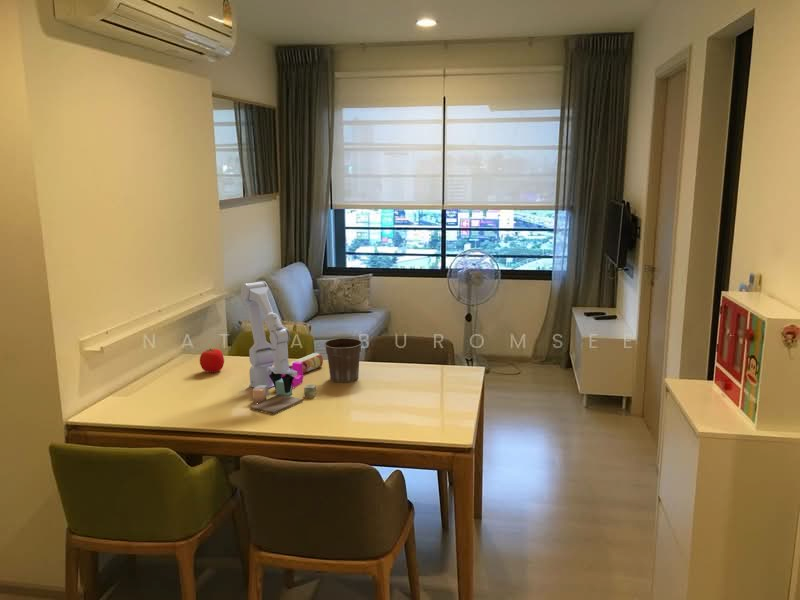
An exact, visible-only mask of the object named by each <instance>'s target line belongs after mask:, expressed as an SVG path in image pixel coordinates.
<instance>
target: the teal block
mask: <svg viewBox="0 0 800 600" xmlns="http://www.w3.org/2000/svg"><path fill="white" fill-rule="evenodd" d="M275 383H276V389H275V394H276V395H275V396H277V395H279V394H281V395H286V396H291V395H293V388H292V384H291V389H290V392H288V393H285V388H284V382H283V380H282V379H280V380H277V381H275Z"/></svg>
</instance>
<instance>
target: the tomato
mask: <svg viewBox="0 0 800 600" xmlns="http://www.w3.org/2000/svg"><path fill="white" fill-rule="evenodd" d="M224 364H225V358H224V354H223V352H222V351H221V350H220V349H218V348H209V349H206V350H204V351H203V352H202V353H201V354H200V356H199V366H200V367H201V368H202V370H203V371H205V372H206V373H211V372H212V373H217V371H218V372H220V371H221V370H222V369H223V368H224Z"/></svg>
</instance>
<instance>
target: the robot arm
mask: <svg viewBox="0 0 800 600" xmlns="http://www.w3.org/2000/svg"><path fill="white" fill-rule="evenodd" d="M269 290H270V289H269V286H268V283H267V282H266V281H265V280H262V281H256V282H249V283H243V284H242V285H241V288H240V294H241V299H242V303H243V305H246V309H247V314H248V318H249V323H250V328H251V334H252V338H253V344H252V346H251V347H250V348H249V349H248V351H249V362H250V365H251V366H250V368H249V385H248V386H249V387H250V388H255V387H257V386H258V385H266V386H268V389H270V388H272V387H274V388H275V390H276V383H275V381H277V380H280V379H281V376H282V374H284V375H285V376H283V377H282V380H283V382H284V388H285V393H288V392H290V389H291V384H292V381H293V379H294V377H296V376H297V371H294V370H292V369H290V368H289V363H290V362H289V351H288V350H289V349H288V347H289V346H288V343H289V342H290V338H291V335H290V332H289V329H288V328H287V327H286V326H285V325H283V324H282V321H281V320H280V317H279V315H278V313H275V312H274V311H273V308H272V305H271V303H270V300H269V297H268V296H269V292H270V291H269ZM261 311H262V312H261ZM261 313H263V315H264V319H262V314H261ZM263 321H264V323H265V326H266V327H267V330H268V332H269V337H268V338H269V341H270V342H268V341H267V338H266V332H265V329H264V323H263Z"/></svg>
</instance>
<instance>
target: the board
mask: <svg viewBox="0 0 800 600" xmlns="http://www.w3.org/2000/svg"><path fill="white" fill-rule="evenodd" d="M303 401H304V400H303V398H299V397H296V396H295V397H294V396H291V395H289V396H286V395H281V394H279V395H277V396H276V395H275V396H272V397H270V398H268V399H267V398H266V400H265V401H263V402H260V403H258V404H255V403H254V405H251V406H250V410H252V409H254V410H253V411H256V410H258V411H257V412H261V411H262V413H265V412H266V413H265V414H269V413H270V415H273V414H274V415H277V414H279V413H281V412H283V411H285V410H288V409H290V408H292V407H294V406H297V405H299V404H300V402H301V403H303ZM293 405H294V406H293ZM291 406H292V407H291ZM289 407H290V408H289ZM287 408H288V409H287ZM282 410H283V411H282ZM280 411H281V412H280ZM278 412H279V413H278ZM276 413H277V414H276Z"/></svg>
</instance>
